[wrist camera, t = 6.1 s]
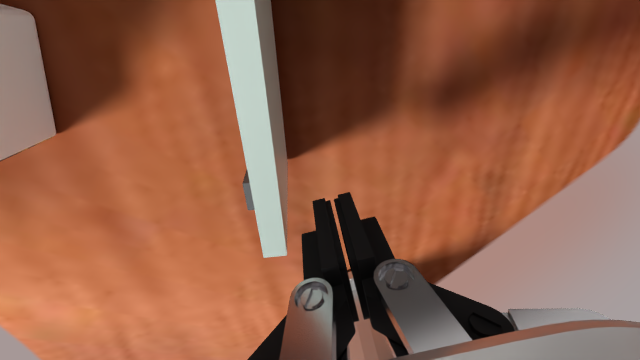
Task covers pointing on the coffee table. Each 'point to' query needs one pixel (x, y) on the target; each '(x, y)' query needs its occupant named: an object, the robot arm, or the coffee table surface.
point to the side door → (258, 114)
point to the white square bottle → (22, 85)
